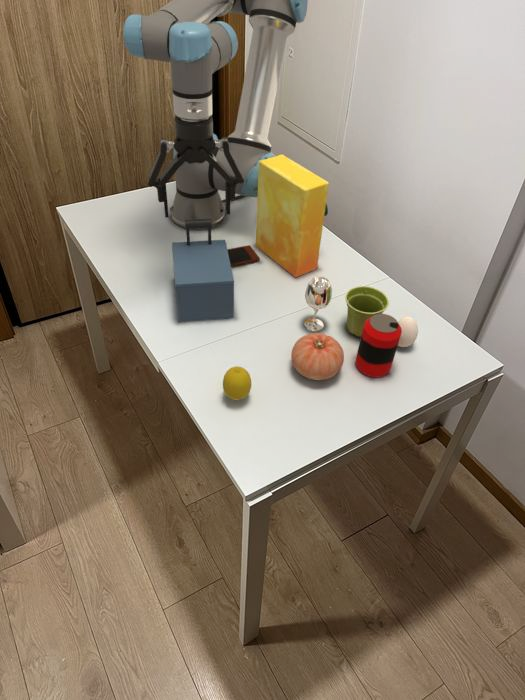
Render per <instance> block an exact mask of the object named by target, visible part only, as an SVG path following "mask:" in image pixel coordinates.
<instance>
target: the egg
mask: <svg viewBox="0 0 525 700" xmlns="http://www.w3.org/2000/svg"><path fill="white" fill-rule="evenodd" d="M397 322H398V324H399V325H400V327H401V329H402V333H401V337H400V340H399V343H398V346H397V347H400V348H408V347H410V346H411V345H413V344H414V343H415V341H416V340H417V338H418V334H419V327H418V324H417V323H418V322H416V320H415V319H414V318H413V317H411V316H404V317H401V318H400V319H398V320H397Z"/></svg>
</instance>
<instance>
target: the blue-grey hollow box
mask: <svg viewBox="0 0 525 700" xmlns="http://www.w3.org/2000/svg"><path fill="white" fill-rule="evenodd" d="M175 296H176V306H177V307H176V309H177V320H178V323H184V322H185V323H187V322H196V321H198V322H199V321H208V320H209V321H211V320H225V319H234V318H235V282H234V283H233V284H218V285H203V286H187V287H176V286H175Z"/></svg>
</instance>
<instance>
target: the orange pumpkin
mask: <svg viewBox="0 0 525 700" xmlns="http://www.w3.org/2000/svg"><path fill="white" fill-rule="evenodd" d="M344 353H345V352H344V350H343V347H342V346H341V343H339V342H338V340H336V339H335V338H334V337H333V336H331V335H327V334H326V333H323V332H322V333H320V332H313V333H308V334H305V335H303V336H302V337H301V336H300V337H299V339H297V340H296V342H295V343H294V345H293V347H292V348H291V355H290V356H291V357H290V358H291V363H292V365H293V367H294V368H295V370H296V371H297V372H298V373H299V374H300V375H301V376H303V377H305V378H307V379H309V380H314V381H322V380H323V381H324V380H327V379H330V378H332V377H334V376H336V375H337V374H338V373H339V372H340V370H341V369H342V368H343V365H344V362H345V354H344Z"/></svg>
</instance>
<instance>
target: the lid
mask: <svg viewBox="0 0 525 700" xmlns="http://www.w3.org/2000/svg"><path fill="white" fill-rule="evenodd" d="M211 227H212V220H211V219H189V220H185V228H184V229H185V238H186V241H172V242H171V251H172V261H173V272H174V273H173V274H174V285H175V288H176V287H187V286H203V285H218V284H233V283H234V284H235V279H234V273H233V270H232V267H231V264H230V260H229V255H228V250H227V249H228V246H227V242H226V239H212V228H211ZM191 228H208V229H207V240H193V241H192V240H190V239H191V236H190V230H192V229H191Z"/></svg>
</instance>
